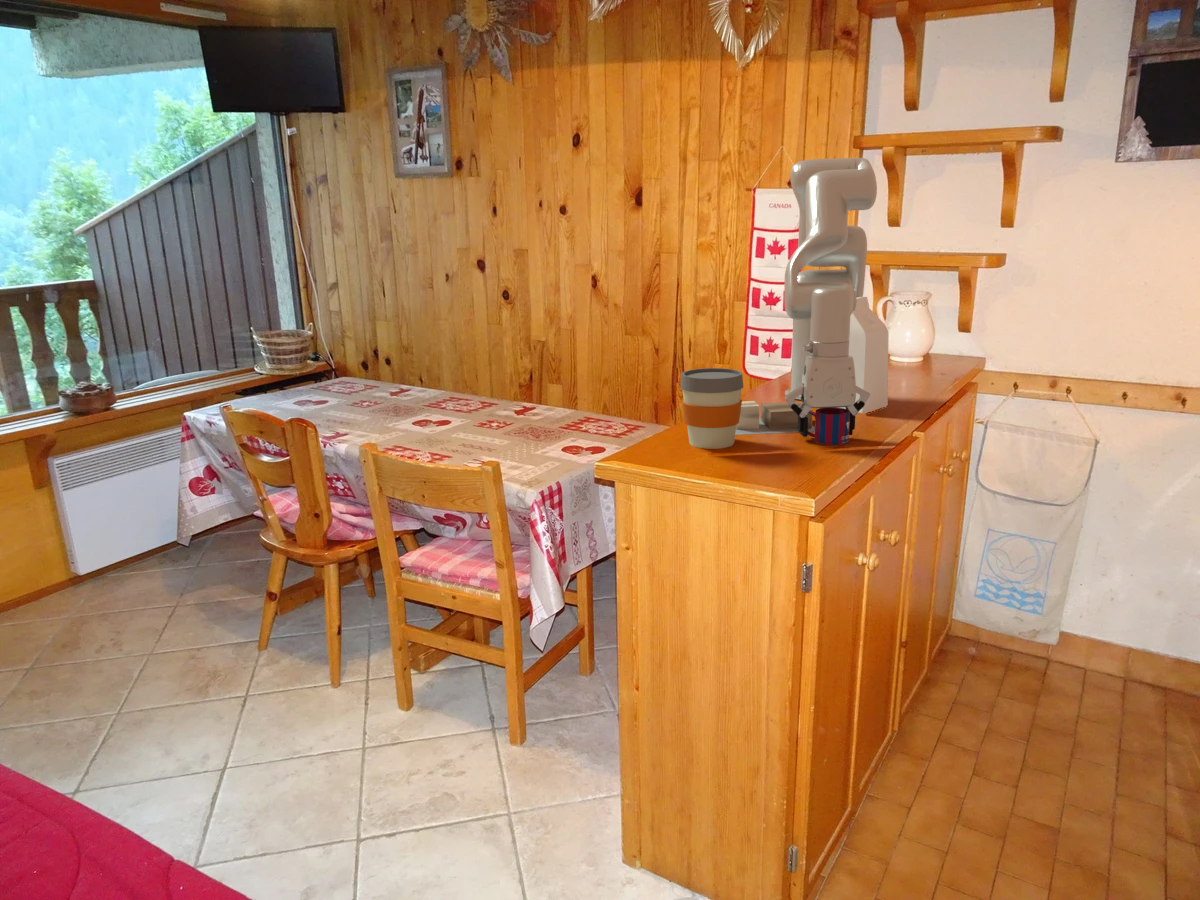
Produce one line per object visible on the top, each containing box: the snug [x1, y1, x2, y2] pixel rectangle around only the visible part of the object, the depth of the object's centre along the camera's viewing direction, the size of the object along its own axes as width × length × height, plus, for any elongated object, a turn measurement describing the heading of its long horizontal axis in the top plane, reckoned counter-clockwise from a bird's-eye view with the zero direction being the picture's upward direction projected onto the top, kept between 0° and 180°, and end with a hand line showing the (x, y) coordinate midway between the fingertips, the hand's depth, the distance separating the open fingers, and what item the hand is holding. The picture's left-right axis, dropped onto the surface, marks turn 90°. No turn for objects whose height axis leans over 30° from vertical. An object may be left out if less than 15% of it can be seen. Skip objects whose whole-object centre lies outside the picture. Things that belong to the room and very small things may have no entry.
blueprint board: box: [735, 417, 815, 436], centre depth 186 cm, size 14×18×1 cm
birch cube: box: [736, 400, 760, 429], centre depth 185 cm, size 5×5×5 cm
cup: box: [808, 408, 850, 449], centre depth 172 cm, size 7×10×7 cm
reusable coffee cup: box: [680, 367, 744, 450], centre depth 171 cm, size 12×13×15 cm
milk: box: [837, 296, 889, 414], centre depth 199 cm, size 12×12×26 cm
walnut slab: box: [760, 401, 814, 430], centre depth 185 cm, size 9×9×4 cm
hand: (825, 434), depth 172 cm, fingers closed on cup, 8 cm apart
